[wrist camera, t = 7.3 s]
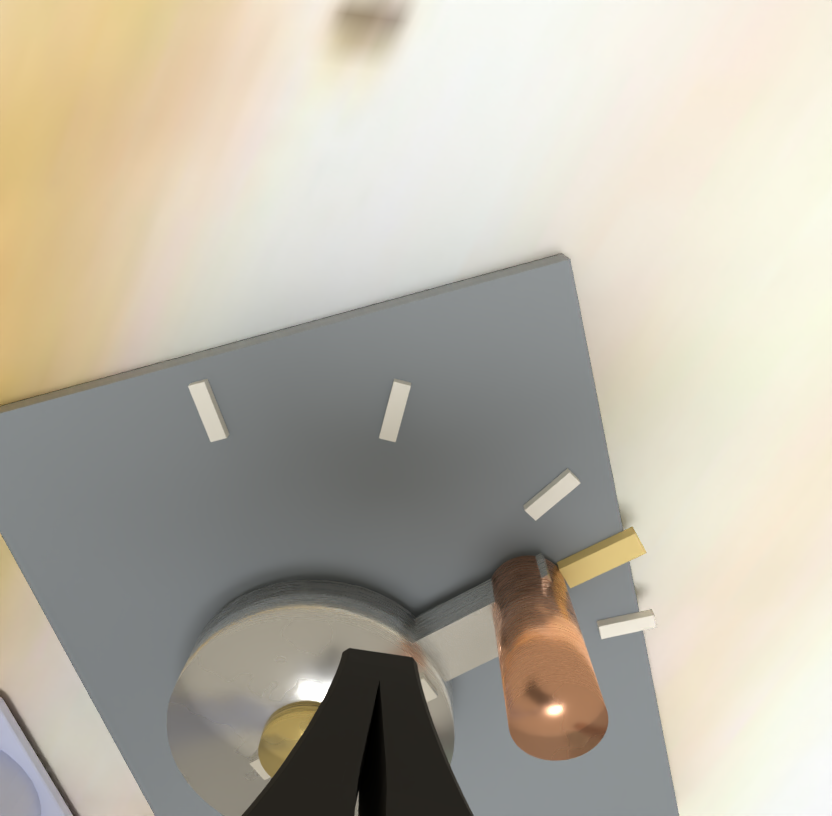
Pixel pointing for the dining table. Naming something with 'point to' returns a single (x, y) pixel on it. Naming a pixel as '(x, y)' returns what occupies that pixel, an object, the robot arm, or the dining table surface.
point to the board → (344, 515)
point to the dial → (387, 633)
